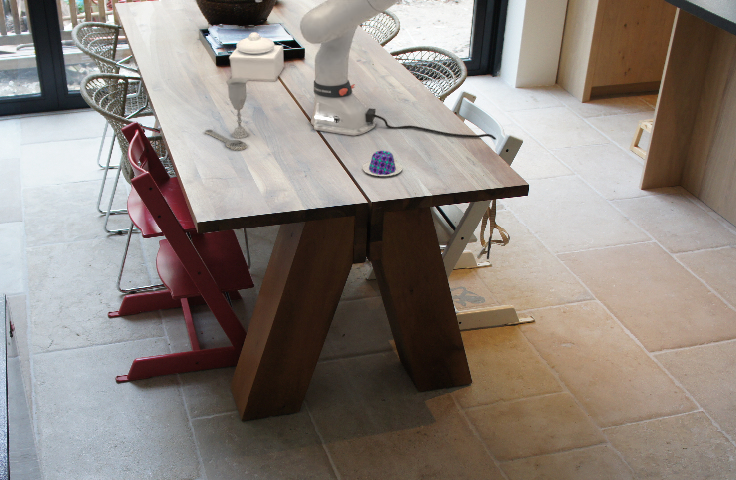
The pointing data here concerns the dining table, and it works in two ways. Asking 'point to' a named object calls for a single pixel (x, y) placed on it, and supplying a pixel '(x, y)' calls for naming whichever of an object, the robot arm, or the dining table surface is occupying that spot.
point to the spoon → (228, 141)
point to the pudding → (382, 164)
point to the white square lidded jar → (256, 59)
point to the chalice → (238, 101)
